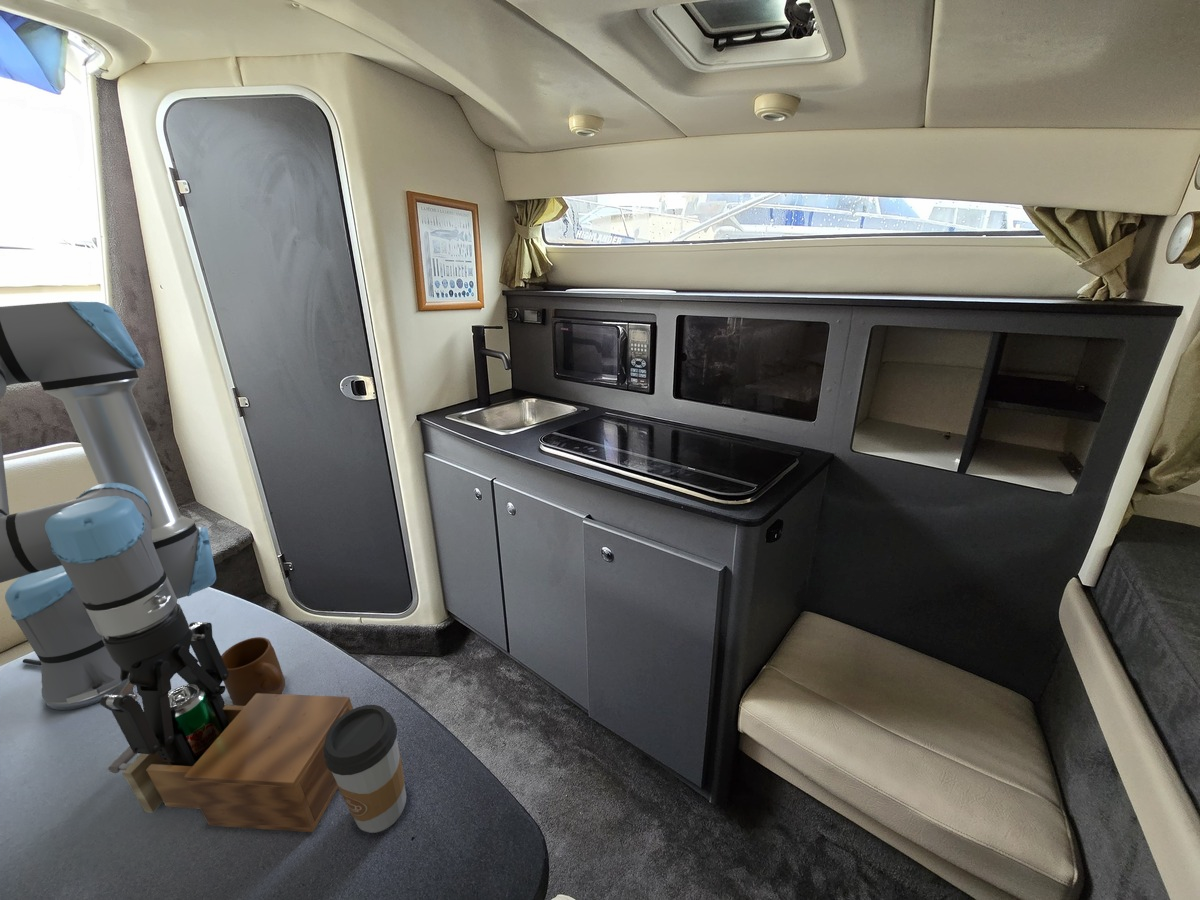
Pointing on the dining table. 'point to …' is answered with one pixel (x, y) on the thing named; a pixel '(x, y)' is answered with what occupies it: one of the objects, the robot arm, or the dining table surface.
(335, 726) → the coffee cup
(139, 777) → the drawer
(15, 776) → the dining table surface
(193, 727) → the soda can
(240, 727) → the cabinet
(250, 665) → the mug
